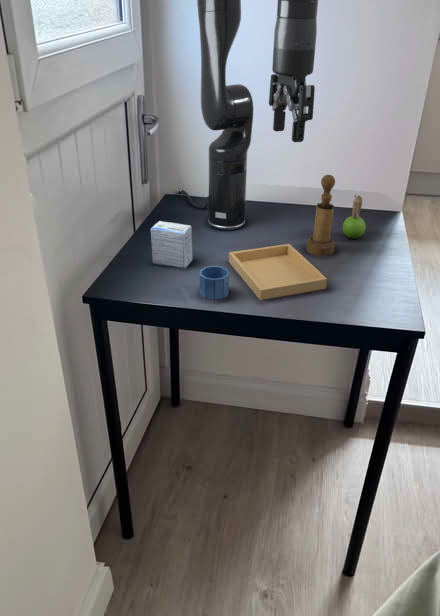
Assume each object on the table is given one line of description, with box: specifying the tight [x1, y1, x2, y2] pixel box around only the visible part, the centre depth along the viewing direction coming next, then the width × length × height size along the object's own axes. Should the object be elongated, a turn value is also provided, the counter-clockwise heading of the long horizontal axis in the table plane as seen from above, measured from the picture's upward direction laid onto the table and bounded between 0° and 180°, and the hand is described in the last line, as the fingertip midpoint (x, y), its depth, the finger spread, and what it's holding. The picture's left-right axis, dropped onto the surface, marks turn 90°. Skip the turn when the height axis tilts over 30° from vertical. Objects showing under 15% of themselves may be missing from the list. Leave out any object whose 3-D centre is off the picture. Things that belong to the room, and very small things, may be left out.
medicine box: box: [150, 220, 193, 269], centre depth 122 cm, size 8×4×9 cm, turn 71°
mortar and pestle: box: [305, 174, 336, 257], centre depth 126 cm, size 7×6×18 cm
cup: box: [199, 265, 230, 301], centre depth 112 cm, size 6×6×5 cm
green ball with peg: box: [342, 194, 367, 239], centre depth 134 cm, size 5×6×12 cm
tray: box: [228, 243, 328, 301], centre depth 119 cm, size 18×15×3 cm
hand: (287, 136), depth 110 cm, fingers open, 8 cm apart
